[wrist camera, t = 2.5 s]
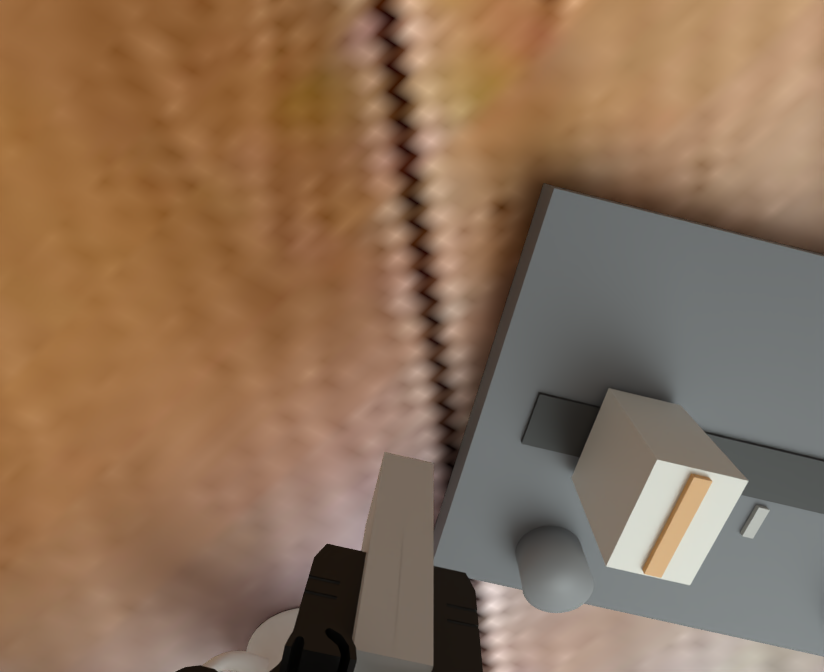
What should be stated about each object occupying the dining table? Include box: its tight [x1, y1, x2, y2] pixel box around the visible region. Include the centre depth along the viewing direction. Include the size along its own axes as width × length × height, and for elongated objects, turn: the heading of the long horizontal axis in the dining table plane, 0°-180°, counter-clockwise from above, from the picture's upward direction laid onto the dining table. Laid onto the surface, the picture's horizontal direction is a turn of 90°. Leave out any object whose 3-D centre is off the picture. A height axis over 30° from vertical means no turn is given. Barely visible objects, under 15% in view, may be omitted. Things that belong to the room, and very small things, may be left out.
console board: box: [433, 184, 824, 657], centre depth 23 cm, size 18×26×4 cm
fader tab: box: [572, 388, 748, 585], centre depth 20 cm, size 4×3×5 cm
